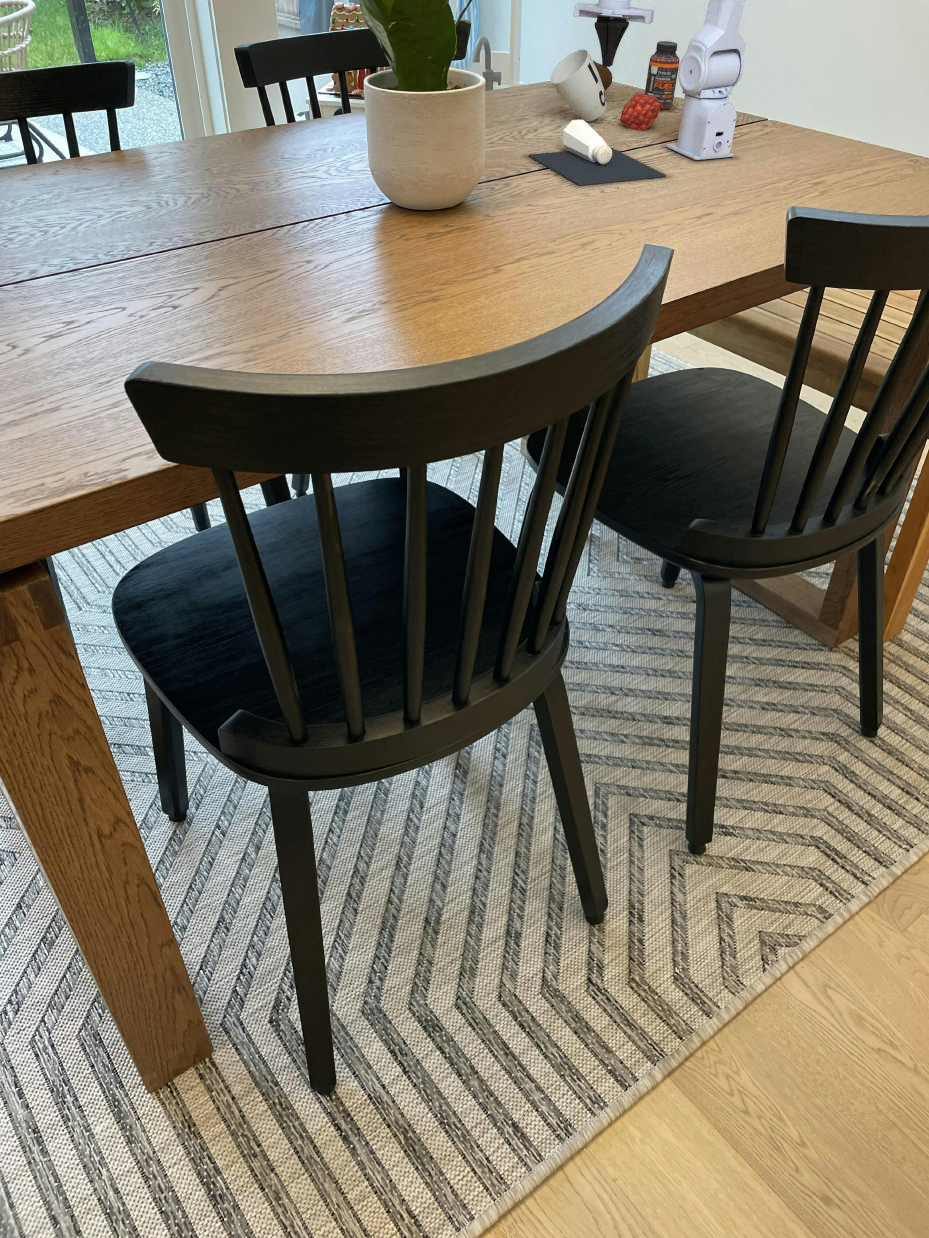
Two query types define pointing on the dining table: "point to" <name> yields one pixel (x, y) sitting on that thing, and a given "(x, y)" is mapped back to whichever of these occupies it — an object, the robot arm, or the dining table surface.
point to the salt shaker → (585, 142)
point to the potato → (604, 75)
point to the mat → (596, 168)
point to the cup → (580, 85)
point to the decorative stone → (640, 111)
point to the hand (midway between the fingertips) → (607, 66)
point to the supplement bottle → (663, 73)
